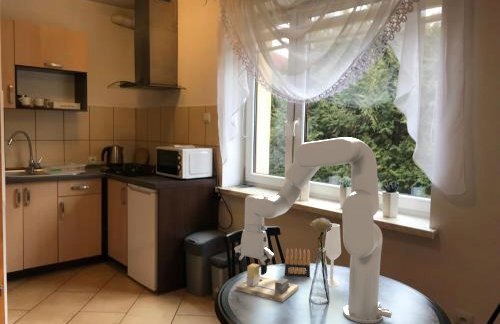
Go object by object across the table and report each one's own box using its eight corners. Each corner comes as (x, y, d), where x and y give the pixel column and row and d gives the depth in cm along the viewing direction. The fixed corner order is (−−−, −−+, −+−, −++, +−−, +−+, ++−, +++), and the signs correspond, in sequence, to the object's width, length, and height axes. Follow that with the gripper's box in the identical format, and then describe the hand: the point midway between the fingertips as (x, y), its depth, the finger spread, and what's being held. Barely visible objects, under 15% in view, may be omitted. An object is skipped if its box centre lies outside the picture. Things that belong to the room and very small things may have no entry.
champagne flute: (336, 279, 164) (338, 222, 162) (342, 286, 157) (344, 226, 155) (320, 280, 163) (322, 223, 161) (326, 286, 156) (328, 227, 154)
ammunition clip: (309, 275, 168) (310, 248, 167) (310, 277, 166) (310, 249, 165) (284, 274, 169) (285, 246, 168) (284, 276, 167) (285, 248, 166)
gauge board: (298, 288, 153) (298, 275, 153) (282, 301, 141) (283, 286, 140) (253, 278, 163) (253, 265, 162) (235, 289, 151) (235, 275, 150)
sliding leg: (263, 279, 157) (264, 262, 157) (253, 286, 150) (253, 268, 149) (257, 277, 159) (257, 260, 158) (246, 284, 151) (246, 266, 151)
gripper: (278, 228, 150) (277, 273, 151) (240, 222, 159) (239, 264, 160) (270, 232, 143) (268, 279, 145) (229, 226, 152) (229, 270, 153)
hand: (253, 271), depth 152 cm, fingers open, 8 cm apart
